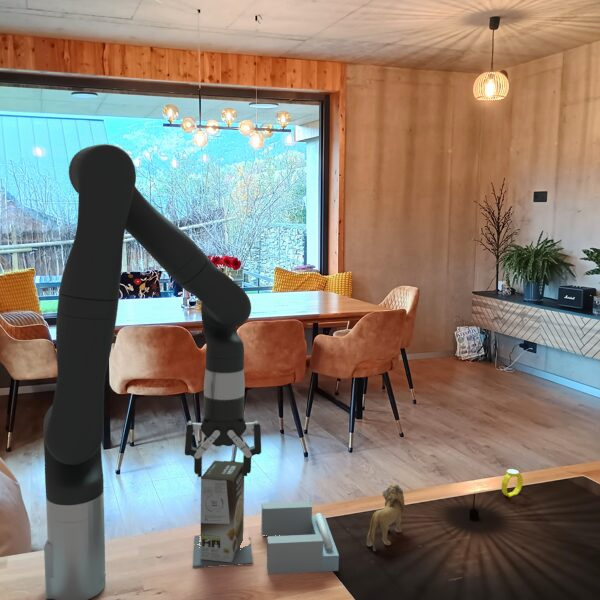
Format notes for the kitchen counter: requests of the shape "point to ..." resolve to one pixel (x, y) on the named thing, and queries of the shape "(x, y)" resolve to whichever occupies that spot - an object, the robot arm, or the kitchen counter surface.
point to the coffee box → (222, 511)
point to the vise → (297, 539)
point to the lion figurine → (387, 514)
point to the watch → (506, 479)
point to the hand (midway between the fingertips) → (222, 475)
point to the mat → (240, 558)
